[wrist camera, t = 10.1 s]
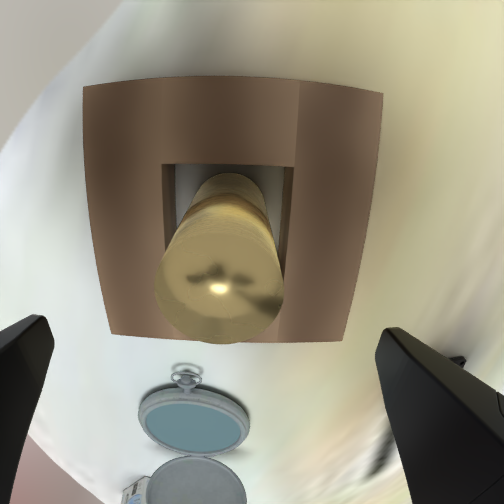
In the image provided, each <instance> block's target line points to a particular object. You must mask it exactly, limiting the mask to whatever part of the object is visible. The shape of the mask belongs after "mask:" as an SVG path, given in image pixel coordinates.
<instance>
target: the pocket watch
mask: <svg viewBox="0 0 504 504" xmlns="http://www.w3.org/2000/svg"><path fill="white" fill-rule="evenodd" d="M177 374H190V375H194V376H196V377H198V378H199V379H200V381H199V382H197V383H196V381H195V380H193V379H191V377H190V376H189V375H183V376H182V377H181V379H179V380H177V381H175V380H174V379H173V376H174V375H177ZM171 380H172V381H173V382H175V383H177V384H178V386H179V388H169V389H164V390H160V391H157V392H155V393H153V394H151V395H150V396H148V397H147V398H146V399H145V400H144V401H143V402H142V403H141V405H140V407H139V411H138V419H139V422H140V424H141V426H142V428H143V430H144V432H145V433H146V434H147V435H148V436H149V437H150V438H151V439H152V440H153V441H155V442H156V443H158V444H160V445H161V446H163V447H165V448H168V449H170V450H173V451H176V452H179V453H180V454H182V455H190V456H184V457H178V458H175V459H172V460H170V461H168V462H166V463H165V464H163V465H162V466H160V467H159V468H158V469H157V470H156V471H155V472H154V473H153V475H152V476H151V478H150V480H149V482H148V485H147V488H146V504H247V498H246V492H245V489H244V486H243V484H242V482H241V480H240V479H239V478H238V476H237V475H236V474H235V473H234V472H233V471H232V470H231V469H230V468H229V467H227V466H226V465H224V464H223V463H221V462H219V461H217V460H214V459H211V458H207V457H213V456H215V455H217V454H222V453H225V452H228V451H231V450H233V449H235V448H236V447H238V446H239V445H240V444H241V443H242V442H243V441H244V440H245V438H246V437H247V436H248V433H249V429H250V422H249V419H248V417H247V415H246V413H245V412H244V411H243V409H242V408H241V407H240V406H239V405H238V404H236V403H235V402H234V401H232V400H230V399H229V398H227V397H225V396H222V395H220V394H217V393H214V392H211V391H207V390H203V389H197V388H194V387H196V385H198V384H200V383H201V382H202V378H201V377H200V376H199V375H197V374H195V373H192V372H184V371H181V372H175V373H173V374H172V375H171ZM205 456H206V457H205Z"/></svg>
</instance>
